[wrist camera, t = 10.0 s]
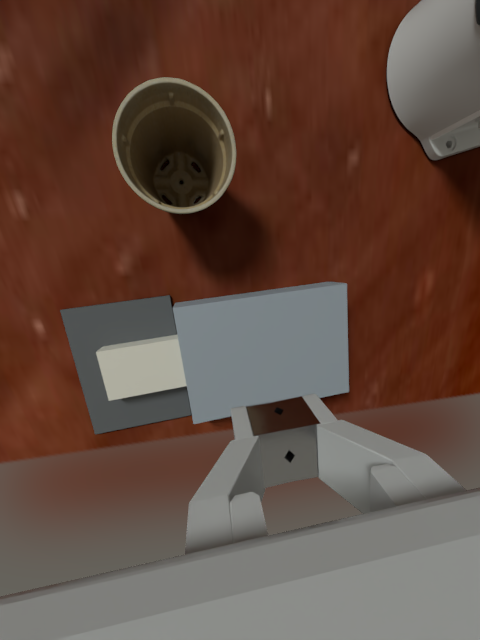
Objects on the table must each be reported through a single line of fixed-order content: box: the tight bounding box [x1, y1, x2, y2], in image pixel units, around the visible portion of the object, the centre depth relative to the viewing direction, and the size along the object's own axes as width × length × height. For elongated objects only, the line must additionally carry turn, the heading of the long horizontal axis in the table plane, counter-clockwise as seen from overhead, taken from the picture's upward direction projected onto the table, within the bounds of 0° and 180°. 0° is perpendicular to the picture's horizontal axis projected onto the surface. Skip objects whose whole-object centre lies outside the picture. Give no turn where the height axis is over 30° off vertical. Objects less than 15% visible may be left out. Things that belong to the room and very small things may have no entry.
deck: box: [173, 282, 349, 424], centre depth 31 cm, size 20×14×4 cm
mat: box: [60, 295, 191, 434], centre depth 31 cm, size 12×16×1 cm
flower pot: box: [112, 77, 236, 214], centre depth 24 cm, size 9×9×9 cm
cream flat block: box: [96, 335, 187, 401], centre depth 30 cm, size 9×6×2 cm, turn 97°
